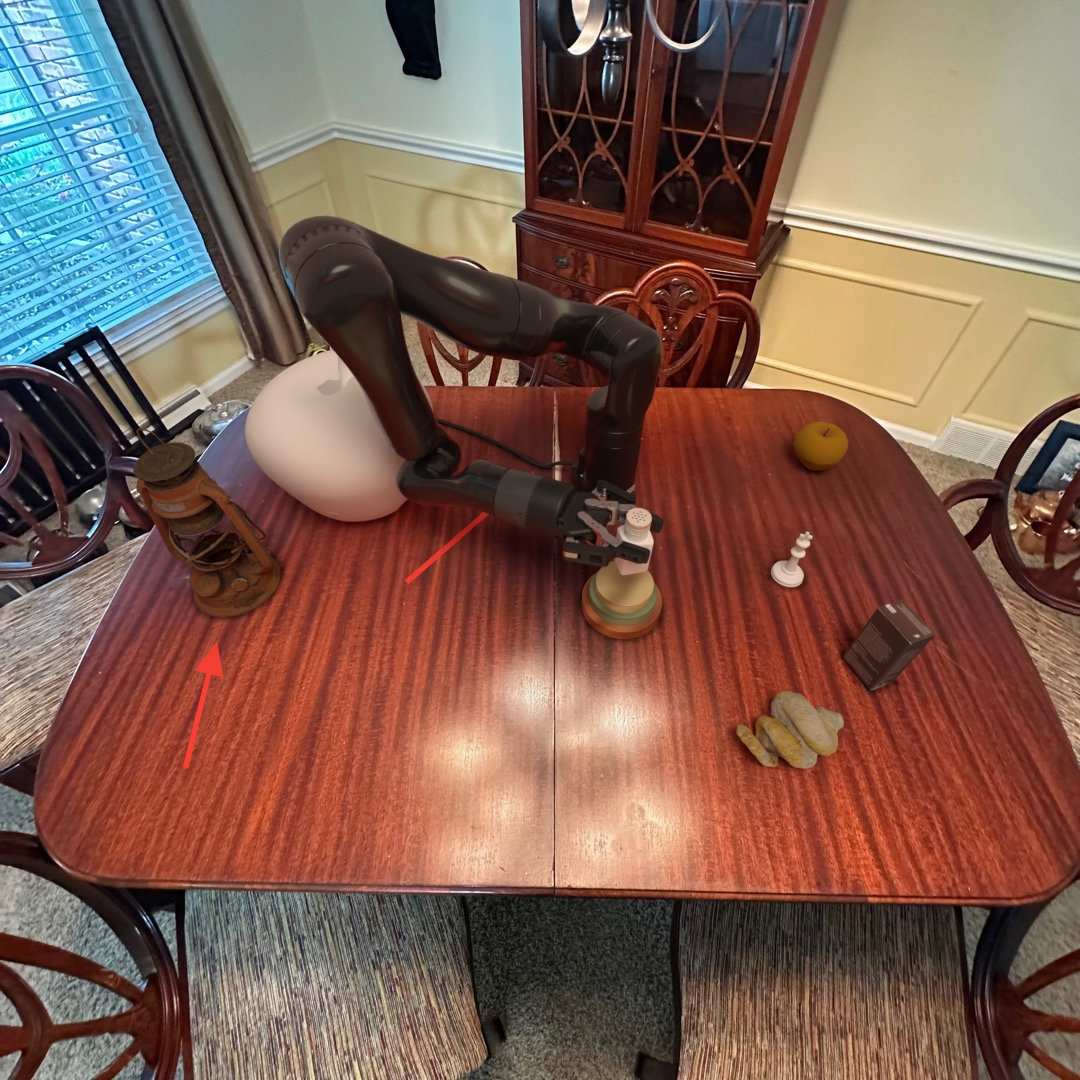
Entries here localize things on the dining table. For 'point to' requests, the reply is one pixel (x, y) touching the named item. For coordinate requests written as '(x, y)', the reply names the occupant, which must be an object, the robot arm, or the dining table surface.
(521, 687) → the dining table surface
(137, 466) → the lantern
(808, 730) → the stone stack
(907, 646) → the box
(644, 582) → the ring stack
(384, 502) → the pale giant fruit
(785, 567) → the chess piece
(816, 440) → the apple
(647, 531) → the pepper shaker
